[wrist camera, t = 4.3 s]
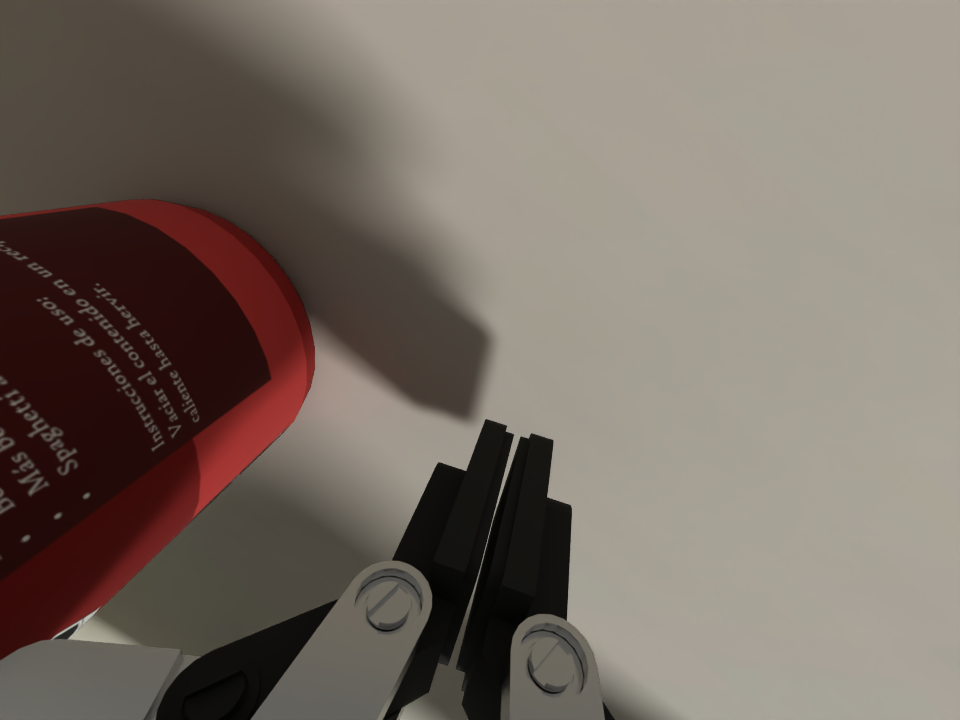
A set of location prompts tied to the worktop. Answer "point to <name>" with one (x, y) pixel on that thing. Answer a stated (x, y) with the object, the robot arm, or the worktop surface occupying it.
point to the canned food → (128, 393)
